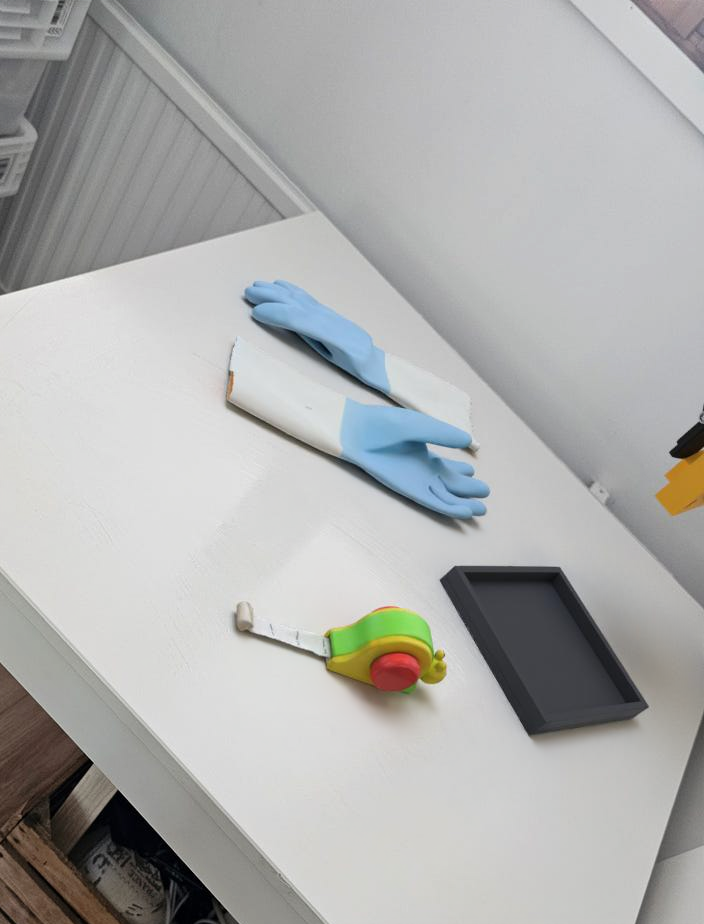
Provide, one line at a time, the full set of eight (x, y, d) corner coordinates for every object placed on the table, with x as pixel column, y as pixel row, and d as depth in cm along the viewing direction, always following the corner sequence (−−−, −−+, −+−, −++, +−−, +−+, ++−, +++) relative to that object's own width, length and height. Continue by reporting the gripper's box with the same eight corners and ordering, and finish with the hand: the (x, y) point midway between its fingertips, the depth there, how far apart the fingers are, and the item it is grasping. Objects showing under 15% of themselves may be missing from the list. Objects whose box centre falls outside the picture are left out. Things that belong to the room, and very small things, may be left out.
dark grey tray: (544, 579, 112) (560, 566, 111) (632, 718, 105) (649, 707, 104) (439, 579, 101) (454, 565, 100) (528, 735, 94) (546, 722, 93)
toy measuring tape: (430, 719, 88) (481, 678, 84) (232, 649, 80) (278, 599, 76) (420, 661, 92) (468, 618, 88) (231, 588, 84) (274, 538, 80)
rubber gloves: (241, 265, 118) (271, 218, 114) (467, 399, 128) (502, 361, 124) (222, 404, 99) (257, 355, 95) (487, 548, 110) (530, 509, 106)
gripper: (945, 417, 87) (763, 550, 99) (822, 279, 95) (666, 419, 107) (911, 407, 83) (725, 548, 95) (784, 263, 90) (626, 410, 102)
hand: (696, 478), depth 101 cm, fingers closed on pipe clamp, 5 cm apart
